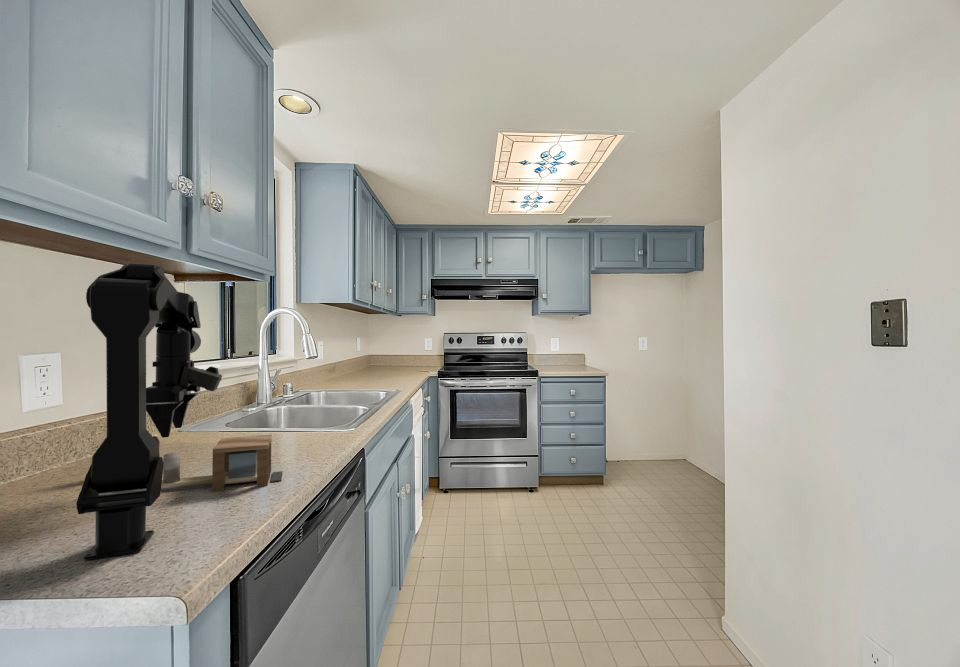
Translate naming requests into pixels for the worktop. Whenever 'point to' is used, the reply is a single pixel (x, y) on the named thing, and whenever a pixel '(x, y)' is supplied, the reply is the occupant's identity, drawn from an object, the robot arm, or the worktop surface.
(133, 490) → the rail
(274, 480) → the grey flat block
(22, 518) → the worktop surface
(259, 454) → the tunnel
